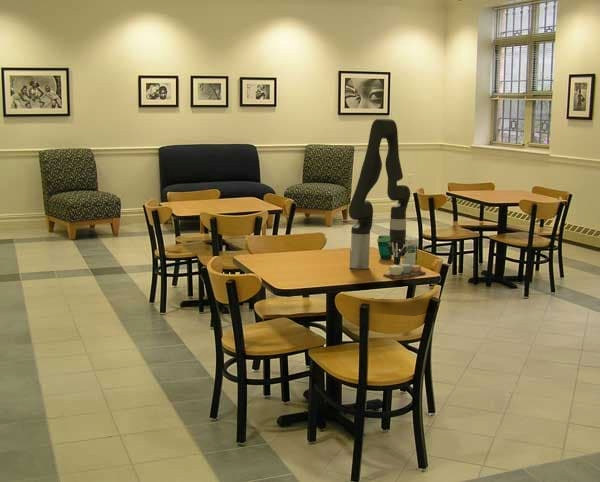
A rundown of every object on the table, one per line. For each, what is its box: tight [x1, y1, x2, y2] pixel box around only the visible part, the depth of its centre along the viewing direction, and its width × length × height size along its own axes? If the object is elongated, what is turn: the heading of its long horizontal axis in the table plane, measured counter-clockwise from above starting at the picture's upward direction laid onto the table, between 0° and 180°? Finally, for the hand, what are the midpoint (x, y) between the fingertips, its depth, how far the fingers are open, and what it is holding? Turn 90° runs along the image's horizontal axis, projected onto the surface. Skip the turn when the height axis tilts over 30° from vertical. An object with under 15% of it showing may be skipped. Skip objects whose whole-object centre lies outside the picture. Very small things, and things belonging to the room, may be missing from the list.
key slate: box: [397, 263, 412, 274], centre depth 382 cm, size 5×5×4 cm
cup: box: [376, 234, 393, 261], centre depth 420 cm, size 8×8×12 cm
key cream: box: [388, 264, 403, 275], centre depth 378 cm, size 5×5×4 cm
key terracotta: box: [411, 264, 422, 273], centre depth 386 cm, size 5×5×4 cm
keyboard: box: [383, 270, 427, 281], centre depth 382 cm, size 20×9×1 cm, turn 131°
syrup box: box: [401, 237, 419, 265], centre depth 401 cm, size 6×6×14 cm
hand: (396, 264), depth 377 cm, fingers closed
